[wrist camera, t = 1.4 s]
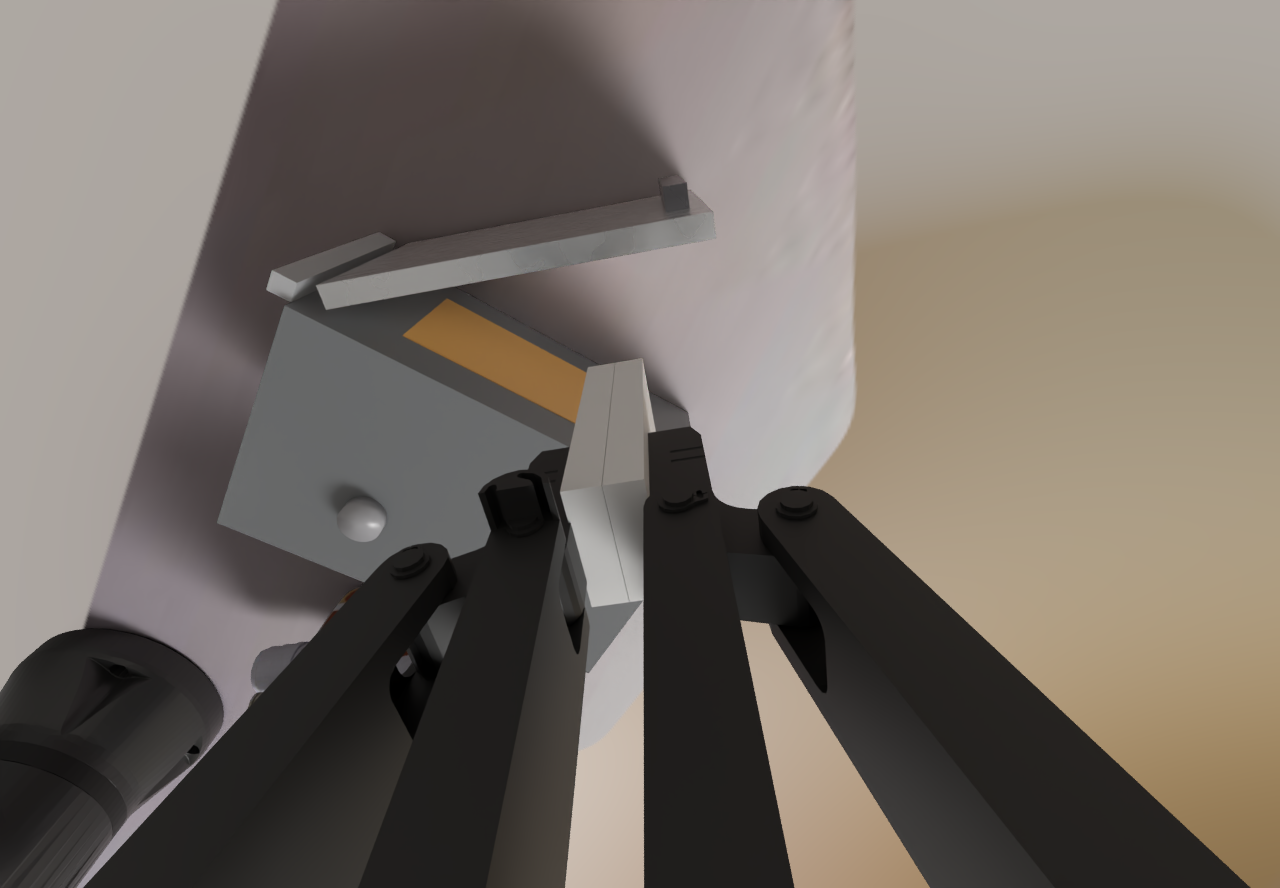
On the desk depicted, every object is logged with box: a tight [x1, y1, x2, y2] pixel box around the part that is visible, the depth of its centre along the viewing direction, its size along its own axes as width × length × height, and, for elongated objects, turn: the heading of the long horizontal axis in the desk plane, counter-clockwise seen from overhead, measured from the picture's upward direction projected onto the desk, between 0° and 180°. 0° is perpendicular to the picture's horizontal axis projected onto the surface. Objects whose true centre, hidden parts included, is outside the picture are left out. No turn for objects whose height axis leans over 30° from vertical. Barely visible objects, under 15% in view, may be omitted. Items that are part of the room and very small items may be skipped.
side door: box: [316, 175, 716, 310], centre depth 28 cm, size 2×16×11 cm, turn 100°
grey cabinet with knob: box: [217, 232, 691, 673], centre depth 34 cm, size 13×24×13 cm, turn 60°
